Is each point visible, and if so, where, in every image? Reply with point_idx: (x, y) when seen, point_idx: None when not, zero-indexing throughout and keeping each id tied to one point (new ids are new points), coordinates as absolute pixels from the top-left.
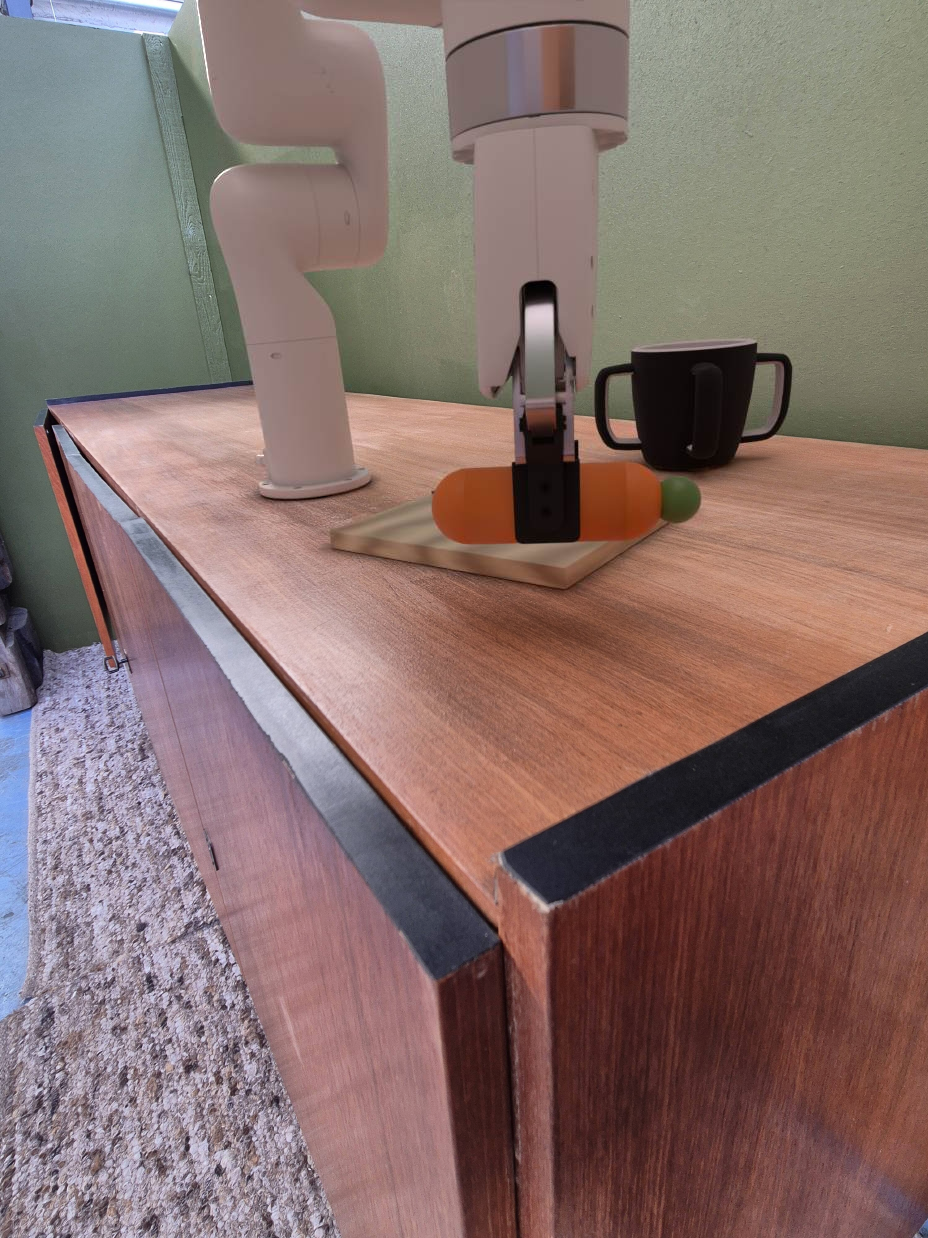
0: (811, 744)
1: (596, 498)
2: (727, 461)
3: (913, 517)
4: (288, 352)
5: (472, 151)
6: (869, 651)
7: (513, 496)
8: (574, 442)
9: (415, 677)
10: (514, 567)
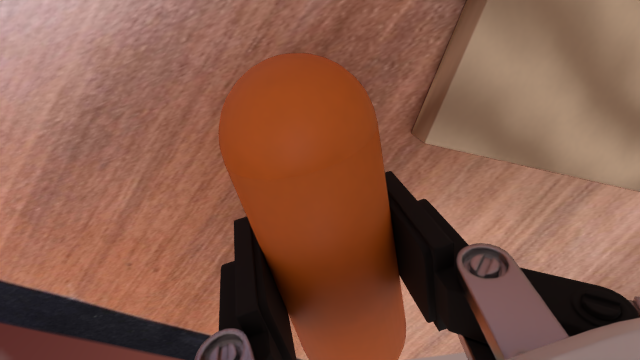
0: (165, 354)
1: (298, 333)
2: None
3: None
4: None
5: None
6: None
7: (235, 268)
8: (437, 325)
9: (119, 44)
10: (452, 62)
